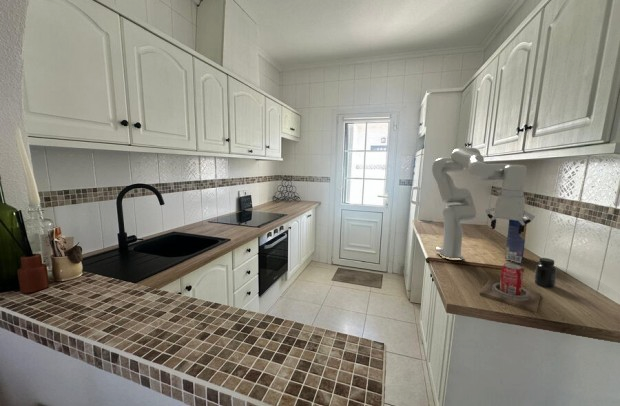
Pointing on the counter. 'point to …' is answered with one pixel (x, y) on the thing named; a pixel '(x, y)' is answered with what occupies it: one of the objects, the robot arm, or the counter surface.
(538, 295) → the locating board
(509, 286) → the soda can
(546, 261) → the supplement bottle
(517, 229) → the juice carton
